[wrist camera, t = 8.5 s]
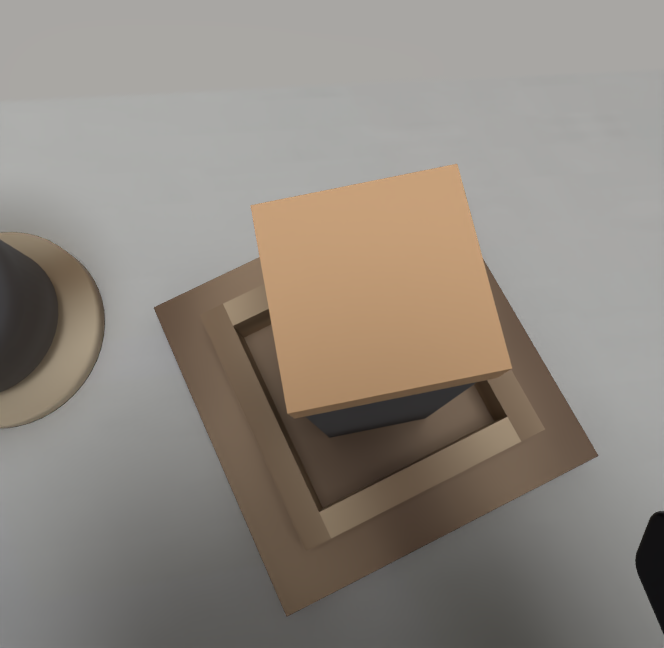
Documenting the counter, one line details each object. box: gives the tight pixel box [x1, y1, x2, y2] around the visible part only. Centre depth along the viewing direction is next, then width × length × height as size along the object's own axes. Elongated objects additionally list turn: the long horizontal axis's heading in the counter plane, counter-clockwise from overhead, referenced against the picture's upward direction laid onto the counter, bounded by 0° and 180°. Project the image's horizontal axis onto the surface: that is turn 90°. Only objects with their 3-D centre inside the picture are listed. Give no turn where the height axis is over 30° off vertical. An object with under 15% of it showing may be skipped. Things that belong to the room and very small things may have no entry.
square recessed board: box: [154, 257, 598, 616], centre depth 20 cm, size 11×11×3 cm
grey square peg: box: [251, 164, 512, 438], centre depth 15 cm, size 3×3×11 cm
